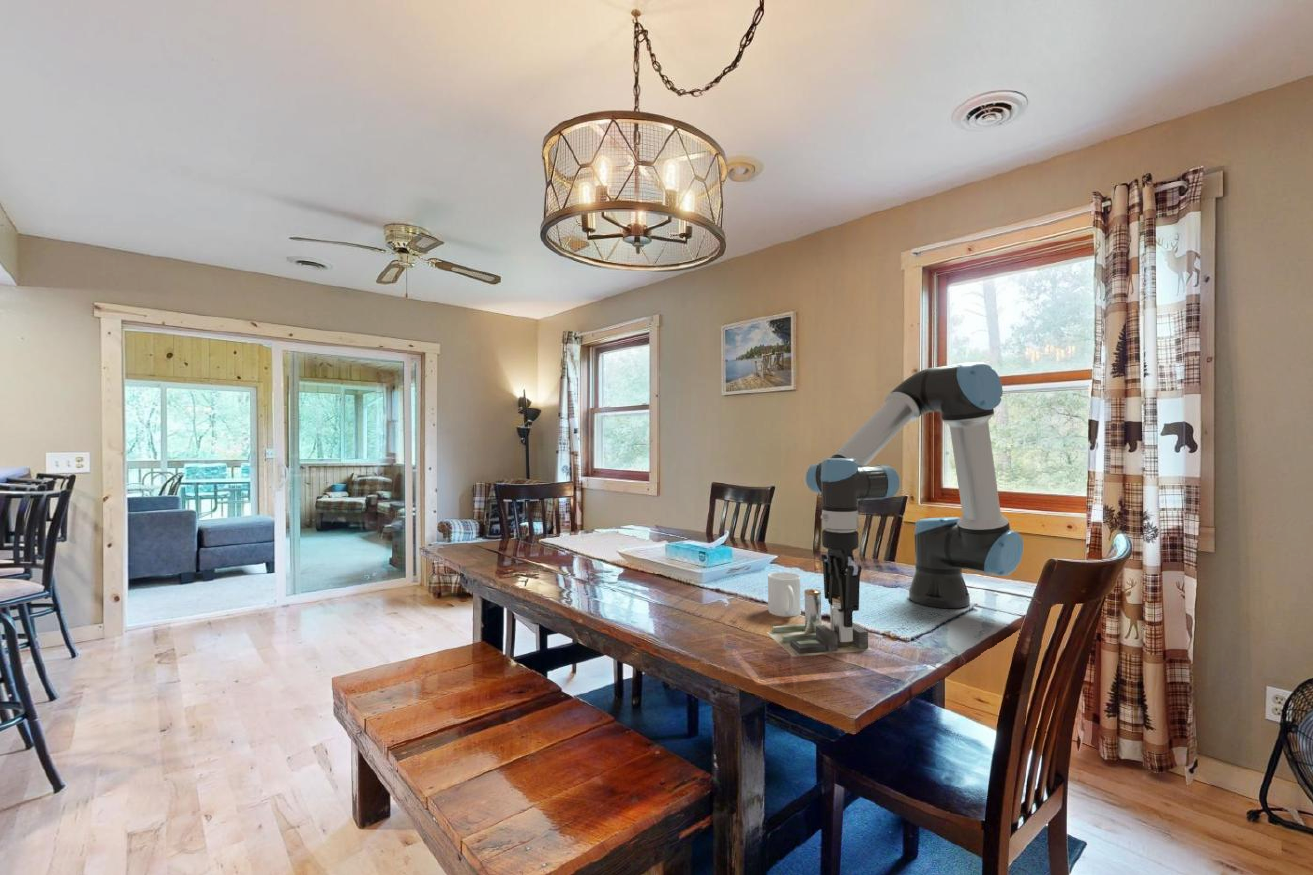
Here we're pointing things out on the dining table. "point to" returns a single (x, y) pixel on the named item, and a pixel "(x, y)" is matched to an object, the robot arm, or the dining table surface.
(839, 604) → the cylinder
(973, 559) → the robot arm
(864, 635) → the grey battery holder
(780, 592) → the mug
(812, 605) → the cell
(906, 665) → the dining table surface
